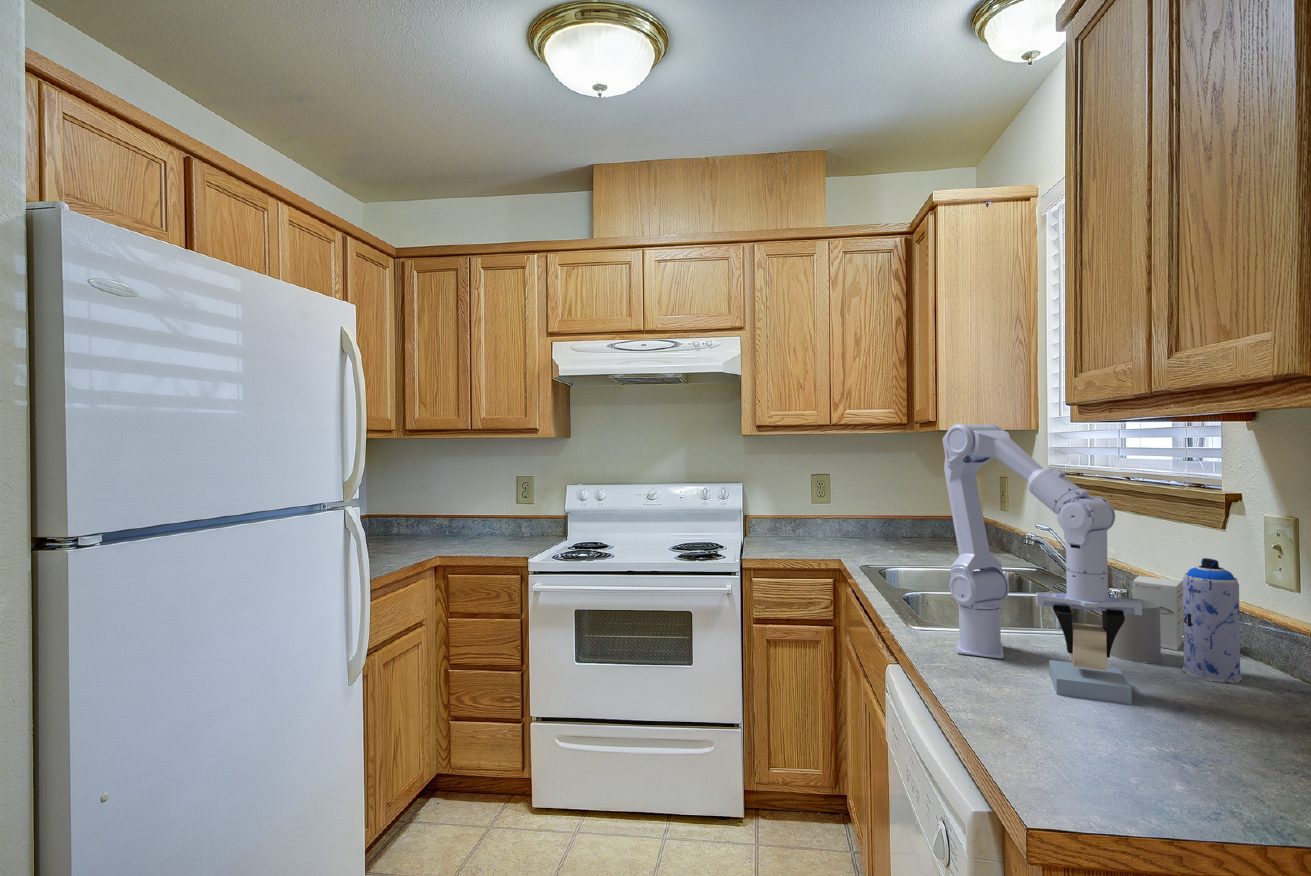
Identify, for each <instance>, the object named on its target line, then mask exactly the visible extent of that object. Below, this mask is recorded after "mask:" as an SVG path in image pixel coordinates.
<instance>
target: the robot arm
mask: <svg viewBox="0 0 1311 876" xmlns="http://www.w3.org/2000/svg"><path fill="white" fill-rule="evenodd" d="M941 440H942V445H943V451H944V456H945V457H944V466H943V467H944V468H943V471H944V476H945V482H946V487H947V488H946V489H947V492H948V493H947V494H948V498H949V504H950V505H949V506H950V511H951V515H952V522H953V527H954V528H953V529H954V533H955V538H956V539H955V540H956V546H957V550H958V557H957V558H956V559H955V560H954V562H953V563H952V564H951V565H950V568H949V569H950V581H949V590H950V595H951V596H952V598H953V599H954V600H955V602H956V605H958V614H959V615H958V620H959V621H958V622H959V623H958V629H959V630H958V632H959V637H958V638H957V645H956V653H957V654H959V655H960V654H961V655H967V656H968V655H969V656H978V657H986V658H993V659H1001V660H1002V659H1004V658H1005V657H1004V655H1005V654H1004V647H1003V643H1002V639H1001V638H1002V637H1001V636H1002V635H1001V633H1002V631H1001V626H1002V625H1001V606H1004V605H1003V600H1005V599H1006V598H1007V597H1008V595H1009V594H1010V593H1009V592H1010V583H1009V579H1008V577H1007V576H1006V574H1005V573H1004V571H1003V567H1002V562H1000V560H998V559H997V558H996V557H995V556H993V554H992V553H991V552H990V547H989V541H988V535H987V530H986V526H985V524H986V523H985V520H984V516H983V508H982V503H981V499H980V494H979V493H980V492H979V487H978V481H977V476H976V474H977V473H978V471H979V470H980V469H981V467H982V466H983V465H986V463H988V462H989V461H990V460H992V459H993V458H994V459H996V460H997V461H999V462H1000V463H1002V464H1003V465H1005V466H1006V467H1007V468H1008V469H1010V470H1012V471H1013V473H1014V474H1016V475H1018V476H1020V477H1021V478H1022V479H1023V480H1025V481H1026V482H1028V491H1029V493H1031V494H1032V495H1033V496H1034V497H1035V498H1036V499H1037V500H1039V502H1041V503H1042V504H1043V505H1044V506H1046V508H1048V509H1049V510H1051V512H1053V513H1054V514H1055V515H1056V519H1057V523H1058V524H1059V525H1058V526H1060V528H1061V529H1062V531H1063V539H1064V540H1065V550H1066V551H1065V556H1066V557H1065V558H1066V559H1065V561H1066V563H1065V565H1066V567H1065V568H1066V569H1065V570H1066V572H1065V573H1066V577H1065V579H1066V592H1064V593H1063V592H1059V593H1057V592H1051V593H1050V592H1046V593H1045V592H1035V604H1036V607H1042V608H1044V607H1051V608H1052V609H1053V612H1054V614H1055V617H1056V618H1057V620H1058V622H1059V625H1060V627H1061V630H1062V633H1063V636H1064V639H1065V645H1066V651H1067V653H1068V654H1070V653H1072V654H1073V640H1072V623H1073V617H1074V616H1073V613H1072V609H1077V610H1086V611H1087V610H1088V611H1089V610H1090V611H1100V612H1101V617H1102V627H1103V628H1104V630H1105V632H1106V643H1107V659H1108V658H1110V657H1111V655H1110V652H1111V648H1112V644H1113V642H1114V639H1115V637H1116V635H1117V633H1118V631H1119V629H1120V628H1121V626H1122V625H1123V623H1124V621H1125V616H1124V613H1132V614H1134V615H1142V603H1141V602H1140V601H1136V600H1127V599H1120V598H1114V597H1112V596H1109V593H1108V592H1109V590H1108V589H1109V583H1108V582H1109V579H1108V578H1109V577H1108V576H1109V575H1108V574H1109V573H1108V572H1109V571H1108V570H1109V569H1108V568H1109V567H1108V566H1109V565H1108V530H1110V529H1111V528H1112V527H1113V525H1114V523H1115V521H1116V513H1115V509H1114V507H1113V506H1112V505H1111V504H1110V502H1108V500H1107V499H1106V498H1104V497H1102V496H1097V495H1096V496H1091V495H1090V494H1089V491H1088V490H1087V489H1086V488H1080V486H1078V485H1077V484H1076V483H1074V482H1073V481H1072V480H1071V479H1069V478H1068V477H1067V473H1066V472H1065V471H1064V470H1063V469H1056V468H1053V467H1048V468H1045V467H1043V466H1042V465H1040V463H1038V462H1037V461H1036V460H1035V459H1034V458H1033V457H1031V456H1030V454H1028V453H1027V452H1026V451H1025V450H1024V449H1022V448H1021V447H1020V446H1019V445H1018V444H1017V443H1016V442H1015V441H1014V440H1013V439H1011V437H1010V433H1009V432H1008V431H1006V430H1004V429H1002V428H1001V427H1000V426H999V425H997V424H995V423H987V424H964V423H955V424H953V425H952V426H950V428H949V429H948V430H947V432H946V433H945V435H944V436H943V438H942V439H941ZM978 569H979V570H978Z"/></svg>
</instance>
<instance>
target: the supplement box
mask: <svg viewBox="0 0 1311 876" xmlns="http://www.w3.org/2000/svg"><path fill="white" fill-rule="evenodd" d="M1132 598H1135V599H1142V600H1147V601H1152V602H1155V603H1157V604H1159V605H1160V636H1161V649H1162V648H1163V649H1169V650H1173V651H1178V650H1179V648H1180V647H1181V646H1182V644H1183V639H1184V616H1183V580H1178V579H1170V578H1169V579H1168V578H1160V577H1153V576H1145V575H1144V576H1143V575H1138V576H1137V577H1135V579H1133V581H1132Z"/></svg>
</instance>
